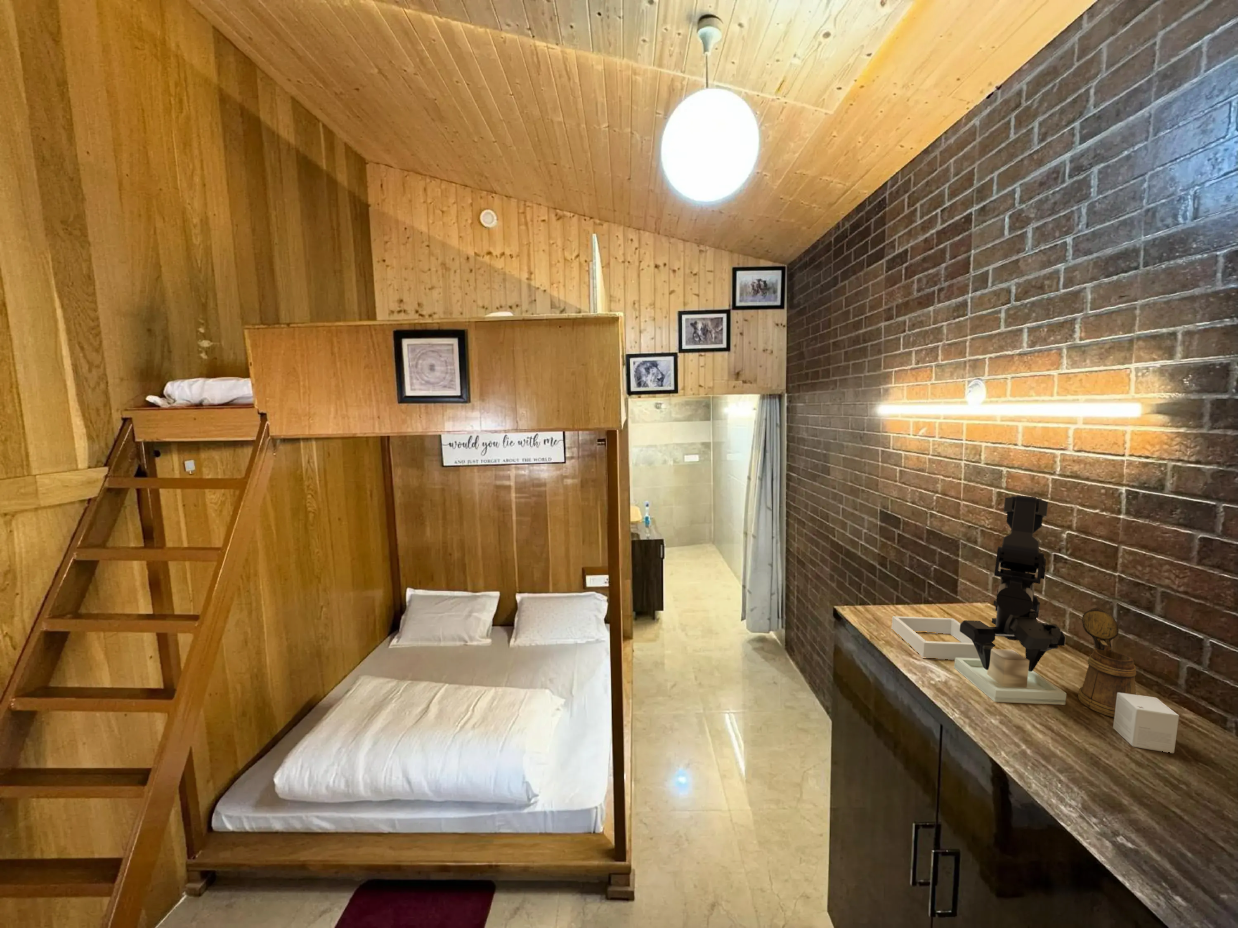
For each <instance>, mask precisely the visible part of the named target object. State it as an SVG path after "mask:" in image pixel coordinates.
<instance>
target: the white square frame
mask: <svg viewBox="0 0 1238 928" xmlns="http://www.w3.org/2000/svg"><path fill="white" fill-rule="evenodd" d="M891 618H892V619H891V629H893V630H894V631H895V632H896V633H897V634H899V635H900V636H901V637H902V638H903V639H904V640H905V641H906V642H907V643H909V644H910V645H911V646H912V647H913V648H914V649H915V650H916V651H917V652H918V653H919V654H920V655H921V656H922V657H926V658H938V659H937V660H945V659H948V660H949V661H951V660H952V661H955V658H978V659H980V657H979V655H978V652H977V650H976V648H975V646H974V644H973V642H972V640H971V639H970V638H968V637H967V636H966V635H964V634H963V633H961V632H960V624H961V622H959V621H958V620H956V619H955V618H953V617H951V618H949V617H924V616H922V617H921V616H899V615H898V616H896V615H893V616H892V617H891ZM913 630H914V631H913ZM915 631H927V632H936V633H935V634H938V633H943V634H942V635H944V634H945V635H950V636H952V637H954V638H955V639H957V640H958V641H935V640H934V641H933V640H932V641H931V640H926V639H924V638H923V637H922V636H921V635H920V634H918V633H916V632H915ZM992 649H994V647H993V648H992ZM921 656H920V657H921ZM922 657H921V658H922Z"/></svg>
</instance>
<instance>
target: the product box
mask: <svg viewBox="0 0 1238 928" xmlns="http://www.w3.org/2000/svg"><path fill="white" fill-rule="evenodd" d="M1179 721H1180V715H1179V714H1178V713H1176V712H1175V711H1174V710H1173V709H1171V708H1170V707H1169V706H1168V705H1167V704H1165V703H1163V701H1161V700H1160V699H1159V698H1157V697H1153V696H1147V695H1140V694H1136V695H1133V694H1126V693H1117V699H1116V708H1115V717H1113V726H1112V729H1114V730H1115V731H1116V732H1117V733H1118V734H1119V735H1120V736H1121V737H1122V738H1123V739H1124V740H1126V742H1127V743H1129V745H1130V746H1131V747H1133V748H1140V749H1145V750H1151V751H1157V752H1162V751H1163V752H1162V753H1168V752H1170V754H1174V753H1175V750H1176V749H1175V747H1176V741H1177V740H1176V739H1177V734H1178V726H1179Z"/></svg>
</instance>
